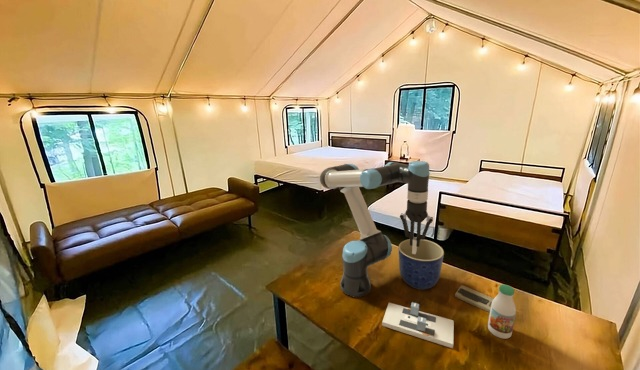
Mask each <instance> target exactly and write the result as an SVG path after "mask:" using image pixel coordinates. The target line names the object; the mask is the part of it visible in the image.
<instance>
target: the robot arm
mask: <svg viewBox="0 0 640 370" xmlns="http://www.w3.org/2000/svg"><path fill="white" fill-rule="evenodd" d="M430 175H431V174H430V164H429V162H428V161H424V160H412V161H410V162H409V163H408V164H405V163H400V162H397V161H395V162H394V161H389V162H387V163H386V164H385V165H384V166H381V167H375V168H364V169H363V168H362V169H359V167H358V166H357V165H355V164H353V163H344V164H340V165H335V166H329V167H327V168H325V169H324V170H322V171H321V173H320V175H319V182H320V184H321V186H322V187H323V188H325V189H327V190H332V189H333V190H335V189H339V191H340V193H343V194H344V197H345V199H346V201H347V203H348V206H349V209H350V211H351V213H352V216H353V219H354V221H355V224H356V226H357V229H358V230H359V233H360V238H359V239H358V240H351V241H348V242H347V243H346V244H345V245H344V246H343V248H342V255H341V256H342V267H343V274H342V276H341V278H340V279H341V280H340V283H339V284H340V286H341V287H340V286H339V287H340V290H341V289H342V290H341V292H342V291H343V292H344V293H346V294H347V295H346V294H345V295H346V296H348V295H350V296H349V297H351V296H354V297H353V298H361V297H360V296H362V297H365V296H367V295H368V294H369V293H370V292H371V290H372V284H371V281H370V278H369V275H368V267H370V266H373V265H375V264H377V263H379V262H380V261H384V260H386V259H387V258H390V256H391V254H392V252H393V245H392V242H391V240H390V238H389V237H388V236H387V235H385V234H383V233H382V231H381V230H379V229H377V227H376V223H375V221H374V219H373V217H372V214H371V212H370V210H369V208H368V206H367V203H366V201H365V198H364V196H363V194H362V191H361V188H364V189H366V190H372V189H373V190H374V189H377V188H379V187H382V186H383V187H384V186H386V185H390V184H395V183H403V184H407V197H406V198H407V201H406V211H405V212H403V213H401V214H400V216H399V219H400V220H401V221H402V225H403V231H404V235H405V237H406V238H409V239H410V245H411V246H412V254H416V251H417V247H419V245H420V240H421V239H422V240H426V239H425V238H426V236H427V233H428V230H429V227H430V225H431V224H432V222H434V217H433V216H430V215H429V214H428V210H427V209H428V196H429V182H430V181H429V180H430ZM407 218H408V220H409V221H410V230H409V226H408V220H407ZM424 221H426V222H425V223H426V224H425V226H424V228H423V231H422V223H423V222H424ZM415 223H416V236H414V235H415ZM421 232H422V234H421ZM343 292H342V293H343ZM344 293H343V294H344ZM366 294H367V295H366ZM364 295H365V296H364Z"/></svg>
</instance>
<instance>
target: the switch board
mask: <svg viewBox="0 0 640 370" xmlns="http://www.w3.org/2000/svg"><path fill="white" fill-rule="evenodd" d="M410 313H411V307H406V306H403V305H400V304H396V303H392V302H388V304H387V307H386V310H385V313H384V316H383V319H382V321H381V322H382V324H381V326H382V327H384V328H388V329H391V330H394V331H397V332H400V333H404V334H407V335H410V336H412V337H416V338H419V339H422V340H425V341H429V342H431V343H434V344H438V345H440V346H444V347H447V348H450V349H454V336H455V335H454V330H455V329H454V328H455V327H454V325H455V324H454V322H455V321H454V320H452V319H449V318H446V317H443V316H440V315H439V316H438V315H435V314H431V313H427V312H426V311H425V312H424V311H420V310H419V313H418V316H419V317H422V318H426V328H425V332H424V331H421V330H418V329H417V320H418V316H416V315H412V314H410Z"/></svg>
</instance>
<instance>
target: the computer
mask: <svg viewBox="0 0 640 370" xmlns="http://www.w3.org/2000/svg"><path fill="white" fill-rule="evenodd" d="M454 298H456V299H459V300H461V301H463V302H465V303H467V304H470V305H472V306H473V307H477V308H478V309H481V310H483V311H485V312H487V313H489V314H490V309H491V304H492V301H493V299H494V298H495V297H494V298H493V297H490V296H489V295H486V294H485V293H481V292H480V291H477V290H474V289H472V288H470V287H467V286H465V285H462V284H461V285H460V286H459V287H458V289H457V291H456V292H455V293H454Z"/></svg>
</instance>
